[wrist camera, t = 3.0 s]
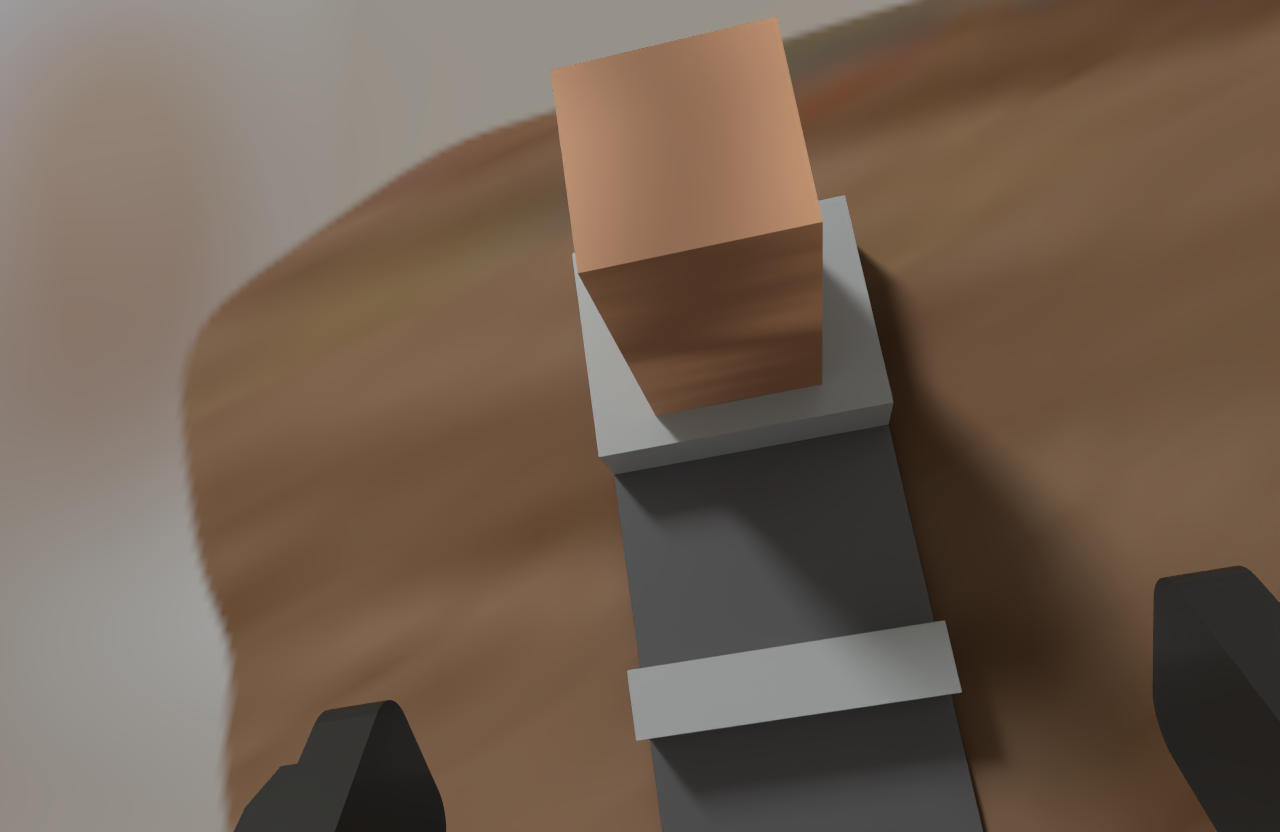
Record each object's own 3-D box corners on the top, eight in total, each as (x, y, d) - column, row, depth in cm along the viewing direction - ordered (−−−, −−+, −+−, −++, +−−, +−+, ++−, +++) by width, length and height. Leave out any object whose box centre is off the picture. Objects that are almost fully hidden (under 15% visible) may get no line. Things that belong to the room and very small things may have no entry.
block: (790, 234, 24) (776, 16, 17) (822, 384, 23) (823, 221, 15) (632, 267, 25) (550, 69, 17) (655, 416, 23) (578, 273, 16)
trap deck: (842, 233, 26) (845, 188, 24) (1078, 1248, 19) (1111, 1316, 17) (589, 286, 27) (569, 247, 25) (724, 1277, 20) (712, 1344, 18)
